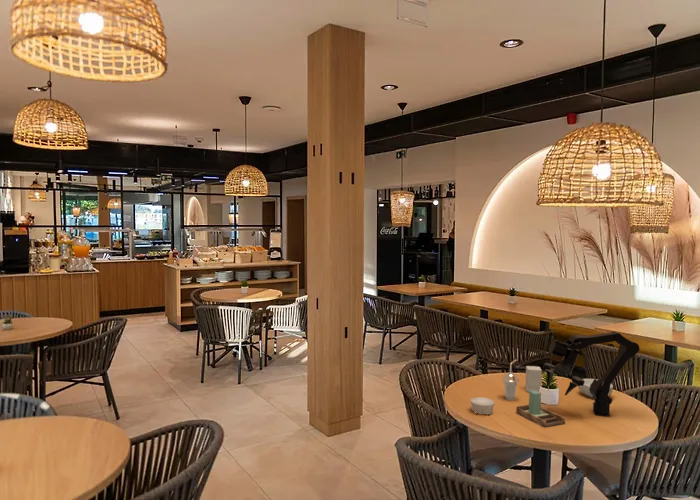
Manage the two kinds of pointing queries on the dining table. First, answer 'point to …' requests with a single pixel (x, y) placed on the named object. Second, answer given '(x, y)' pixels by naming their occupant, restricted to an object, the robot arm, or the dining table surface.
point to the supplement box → (533, 378)
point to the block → (534, 402)
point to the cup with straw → (510, 384)
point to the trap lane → (541, 416)
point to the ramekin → (482, 405)
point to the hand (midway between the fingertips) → (556, 390)
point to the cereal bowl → (587, 385)
